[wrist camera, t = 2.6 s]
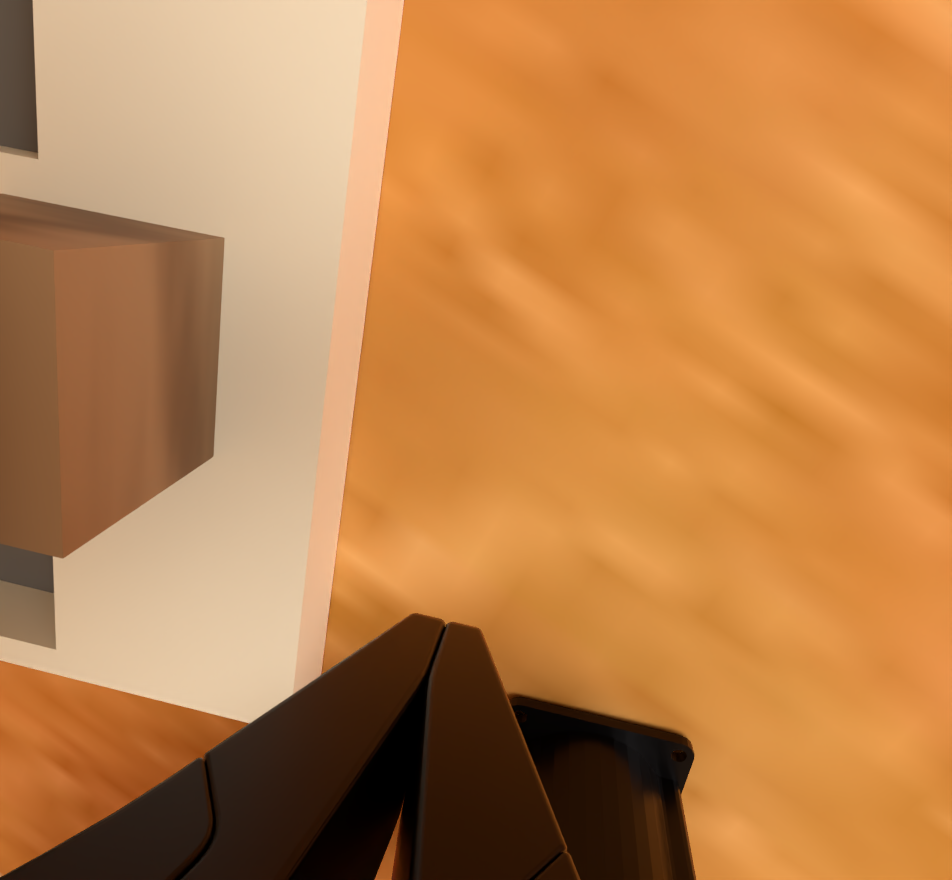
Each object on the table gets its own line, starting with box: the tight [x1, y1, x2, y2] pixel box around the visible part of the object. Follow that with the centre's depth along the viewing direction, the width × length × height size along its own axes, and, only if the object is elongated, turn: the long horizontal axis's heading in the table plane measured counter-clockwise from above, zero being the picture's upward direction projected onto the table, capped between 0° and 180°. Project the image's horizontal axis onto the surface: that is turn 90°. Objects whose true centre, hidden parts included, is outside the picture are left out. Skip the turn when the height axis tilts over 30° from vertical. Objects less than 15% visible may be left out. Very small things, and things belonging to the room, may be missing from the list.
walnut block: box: [0, 194, 225, 559], centre depth 16 cm, size 6×6×6 cm
